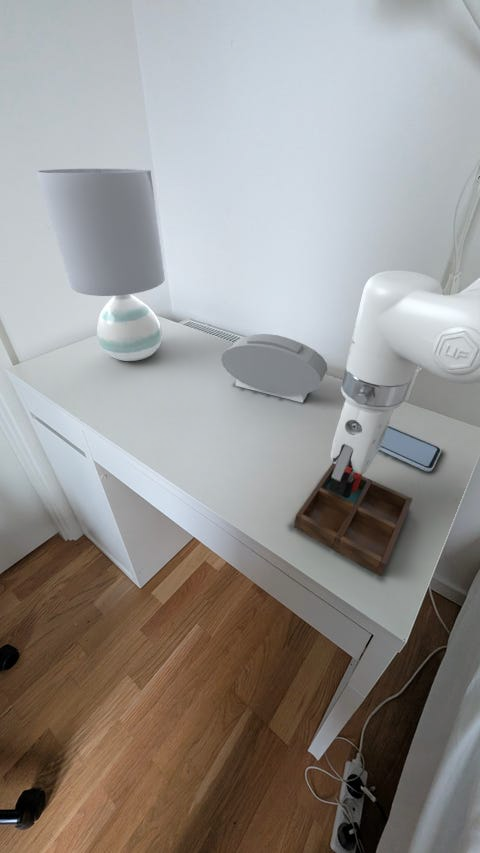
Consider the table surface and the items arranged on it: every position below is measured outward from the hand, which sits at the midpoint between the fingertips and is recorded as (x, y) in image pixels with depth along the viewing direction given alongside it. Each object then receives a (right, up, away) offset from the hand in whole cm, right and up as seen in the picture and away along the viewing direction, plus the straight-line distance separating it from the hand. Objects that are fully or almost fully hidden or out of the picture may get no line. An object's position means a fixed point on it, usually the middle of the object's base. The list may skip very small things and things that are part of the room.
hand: (345, 482), depth 53 cm
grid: (+1, -5, -1) cm, 6 cm away
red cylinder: (0, 0, 0) cm, 0 cm away
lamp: (-46, +29, +41) cm, 68 cm away
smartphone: (+13, +5, +12) cm, 19 cm away
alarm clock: (-9, +18, +27) cm, 34 cm away
